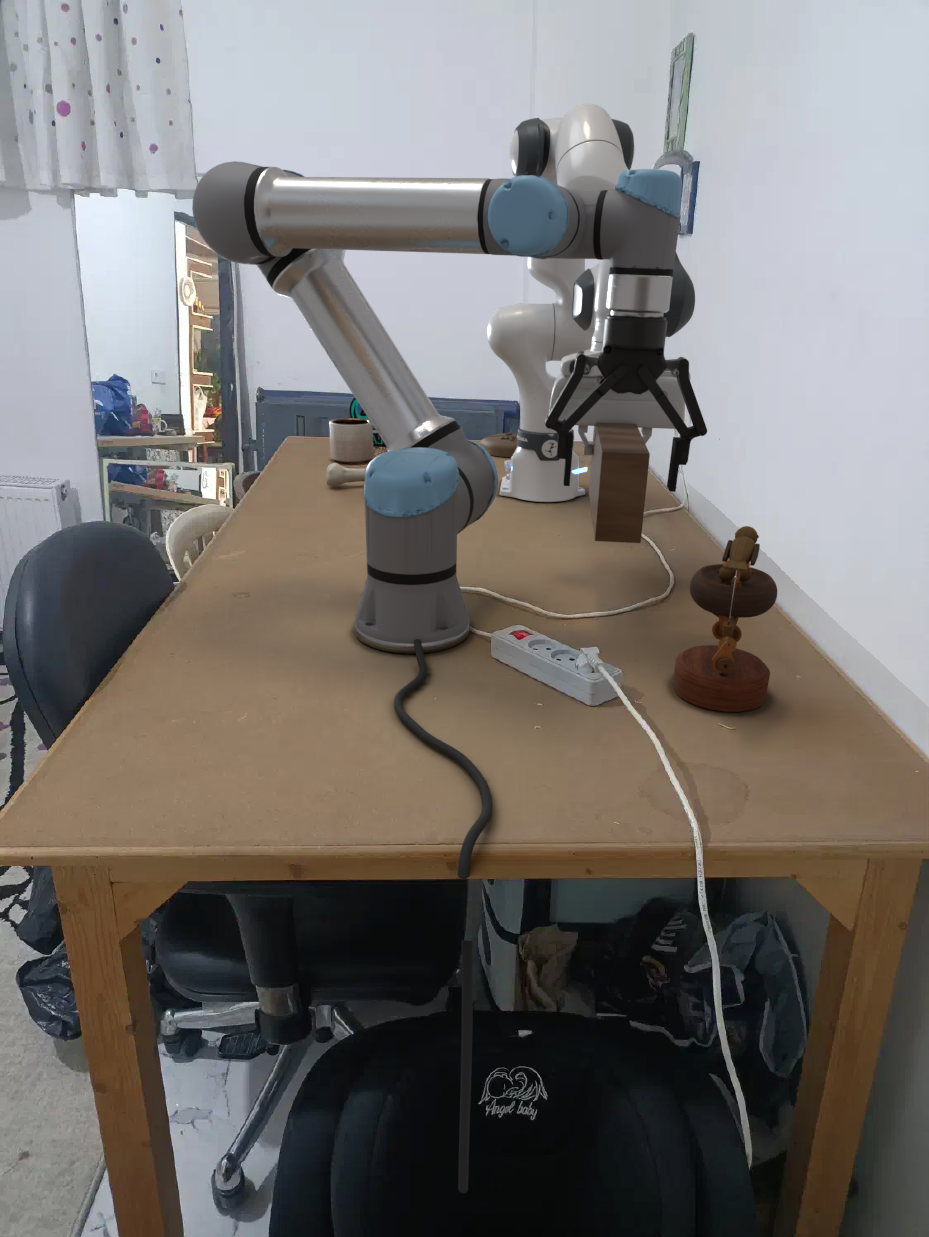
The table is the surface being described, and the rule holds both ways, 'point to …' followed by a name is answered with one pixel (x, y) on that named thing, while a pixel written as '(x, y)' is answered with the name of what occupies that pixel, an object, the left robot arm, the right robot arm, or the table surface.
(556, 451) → the right robot arm
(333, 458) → the planter
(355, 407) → the decorative sign
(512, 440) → the brown flat oval slab
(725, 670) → the music box
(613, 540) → the box
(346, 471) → the dog toy
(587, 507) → the table surface
